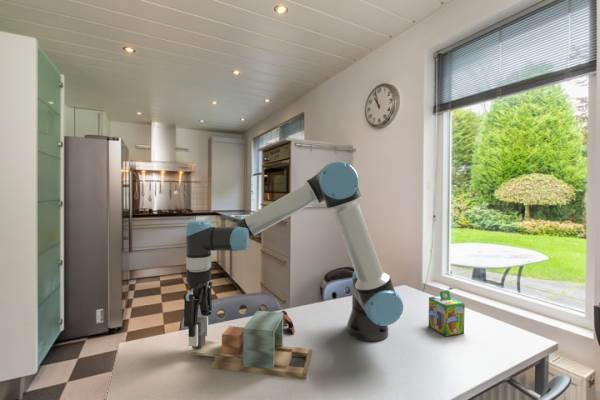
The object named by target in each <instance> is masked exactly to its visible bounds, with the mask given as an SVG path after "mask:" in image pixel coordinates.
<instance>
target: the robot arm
mask: <svg viewBox="0 0 600 400" xmlns="http://www.w3.org/2000/svg"><path fill="white" fill-rule="evenodd" d="M361 199H362V194H361V191H360V188H359V175H358V173H357V170H356V169H355V168H354V167H353V166H352V165H351V164H349V163H347V162H346V161H345V162H344V161H333V162H330V163H328V164H326V165H325V166H323V168H321V169H320V170H319V171H318V172H317V173H316V174H315V175H313V176H312V177H310V178H309V179H307V180H305V183H304V185H302V186H299V187H298V188H297V189H295V190H292V191H291V192H289V193H287V194H285V195H284V196H282V197H280V198H278V199H276V200H275V201H272V202H270V203H269V204H267V205H266V206H265V205H264V207H262V208H260V209H258V210H256V211H255V212H253V213H251V214H249V215H247V216H245V217H244V218H242V219H240V220H238V221H237V222H234V223H232V224H231V225H229V226H221V227H218V226H217V227H216V226H215V227H214V226H213V225H212V222H211V221H209V220H191V221H189V222H188V223H186V233H185V242H186V243H185V245H186V246H185V247H186V249H185V250H186V254H185V255H186V258H185V261H186V263H185V264H186V267H185V268H186V270H185V271H186V272H185V275H186V276H185V277H186V278H185V279H186V280H185V281H186V283H187V284H189V289H188V293H184V294H183V301H184V303H183V304H184V306H183V307H184V309H183V310H184V311H183V327H188V346H189V347H192V346H196V347H197V346H198V325H196V323H197V317H199V318H205V337H208V336H209V316H211V315H212V310H213V305H212V304H213V302H212V300H213V299H212V296H213V295H212V287H213V282H212V281H211V280H212V269H211V267H212V251H216V252H217V251H219V252H220V251H222V252H223V251H224V252H225V251H226V252H227V251H228V252H231V251H233V252H239V251H246V250H247V249H248V248H249V243H250V239H251V238H253V237H255V236H256V235H258V234H260V233H262V232H264V231H265V230H268V229H269V228H271V227H273V226H275V225H277V224H279V223H281V222H282V221H283V220H285V219H287V218H290V217H291V216H293V215H295V214H296V213H298V212H300V211H302V210H305V209H306V208H308V207H310V206H312V205H313V204H317V205H318V204H321V203H322V202H324V203H325V205H326V209H327V210H329V211H332V212H333V214H334V216H335V219H336V222H337V225H338V228H339V231H340V233H341V236H342V239H343V242H344V245H345V247H346V250H347V253H348V256H349V259H350V262H351V264H352V266H353V270H354V271H353V273H352V278H351V280H352V281H351V282H352V286H351V289H352V290H351V291H352V294H351V296H352V297H351V298H352V299H351V303H352V304H351V305H352V306H351V308H352V309H351V311H350V315H349V318H348V321H347V322H346V323H347V327H346V328H347V329H346V330H347V333H348V334H349V335H350V336H352V337H353V338H356V339H358V340H362V341H366V342H380V341H382V340H383V341H384V340H386V339H387V338H388V336H389V326H390V325H393V324H395V323H396V322H397V321H398V320H399V319H401V315H402V314H403V311H404V302H403V300H402V298H401V296H400V294H398V293H397V292H396V290H395V287H394V284H393V282H392V279H391V276H390V274H388V273H387V272H384V271H383V268H382V265H381V261H380V259H379V257H378V254H377V251H376V248H375V245H374V242H373V240H372V236H371V234H370V231H369V228H368V225H367V223H366V220H365V217H364V214H363V212H362V209H361V205H360V201H361ZM199 310H200V315H199V316H198V314H199Z"/></svg>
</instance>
